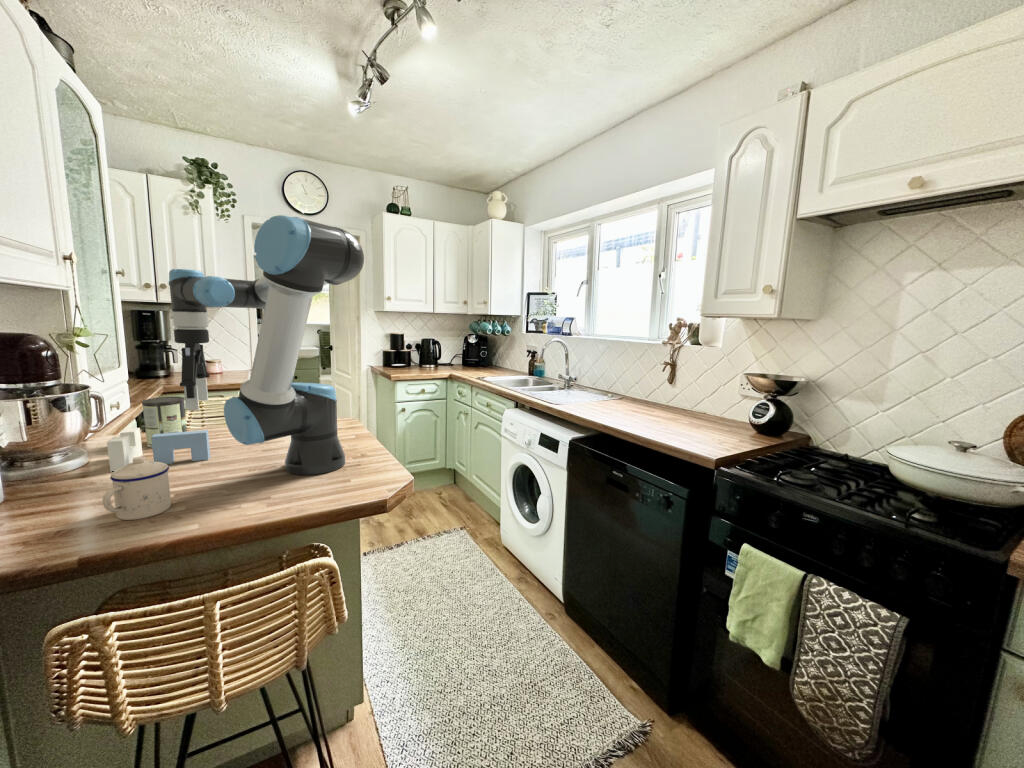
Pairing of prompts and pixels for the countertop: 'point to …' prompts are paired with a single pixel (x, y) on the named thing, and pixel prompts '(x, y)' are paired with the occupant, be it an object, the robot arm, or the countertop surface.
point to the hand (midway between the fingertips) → (197, 405)
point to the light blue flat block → (180, 445)
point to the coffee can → (163, 416)
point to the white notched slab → (124, 448)
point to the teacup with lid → (139, 490)
